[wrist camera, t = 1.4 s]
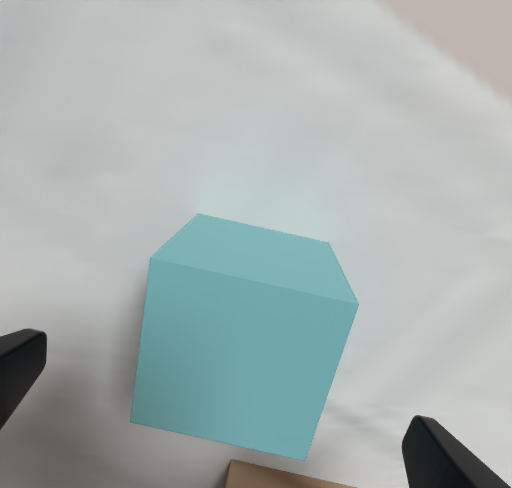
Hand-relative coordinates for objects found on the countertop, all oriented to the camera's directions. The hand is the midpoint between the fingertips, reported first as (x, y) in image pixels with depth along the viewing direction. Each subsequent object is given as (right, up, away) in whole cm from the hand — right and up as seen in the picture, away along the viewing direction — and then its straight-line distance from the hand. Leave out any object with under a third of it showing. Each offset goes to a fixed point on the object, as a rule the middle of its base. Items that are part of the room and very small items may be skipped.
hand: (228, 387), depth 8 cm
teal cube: (0, +2, +5) cm, 6 cm away
